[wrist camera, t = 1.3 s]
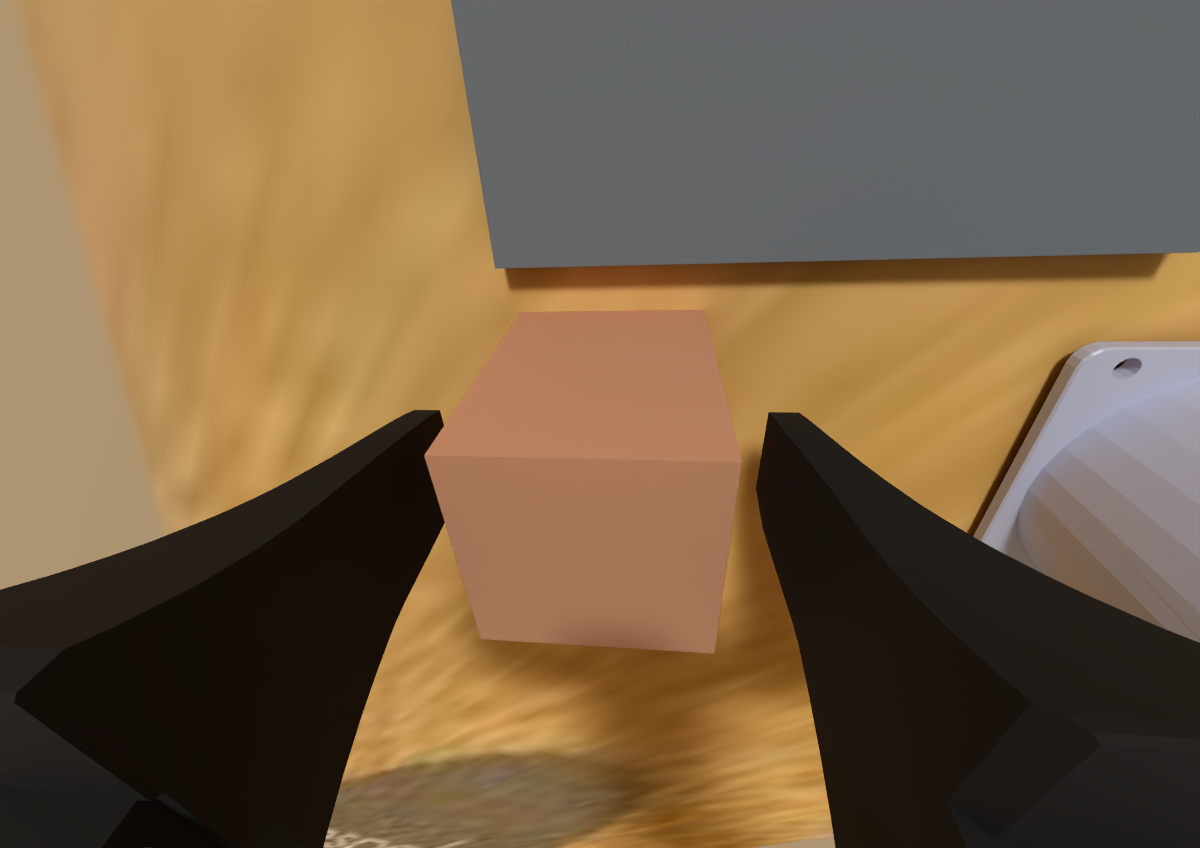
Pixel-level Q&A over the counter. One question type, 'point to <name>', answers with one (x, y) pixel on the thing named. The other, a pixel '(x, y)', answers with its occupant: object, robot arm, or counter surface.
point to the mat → (832, 128)
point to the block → (593, 482)
